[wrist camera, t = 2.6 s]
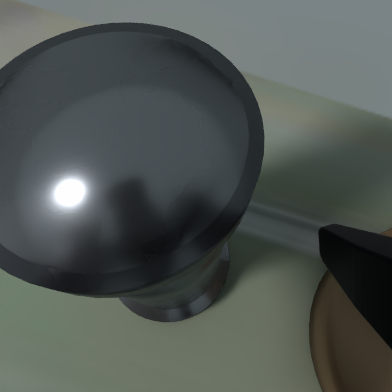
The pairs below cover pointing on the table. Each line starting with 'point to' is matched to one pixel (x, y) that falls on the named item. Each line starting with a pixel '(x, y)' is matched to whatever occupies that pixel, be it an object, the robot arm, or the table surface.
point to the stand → (346, 343)
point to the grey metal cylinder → (126, 166)
